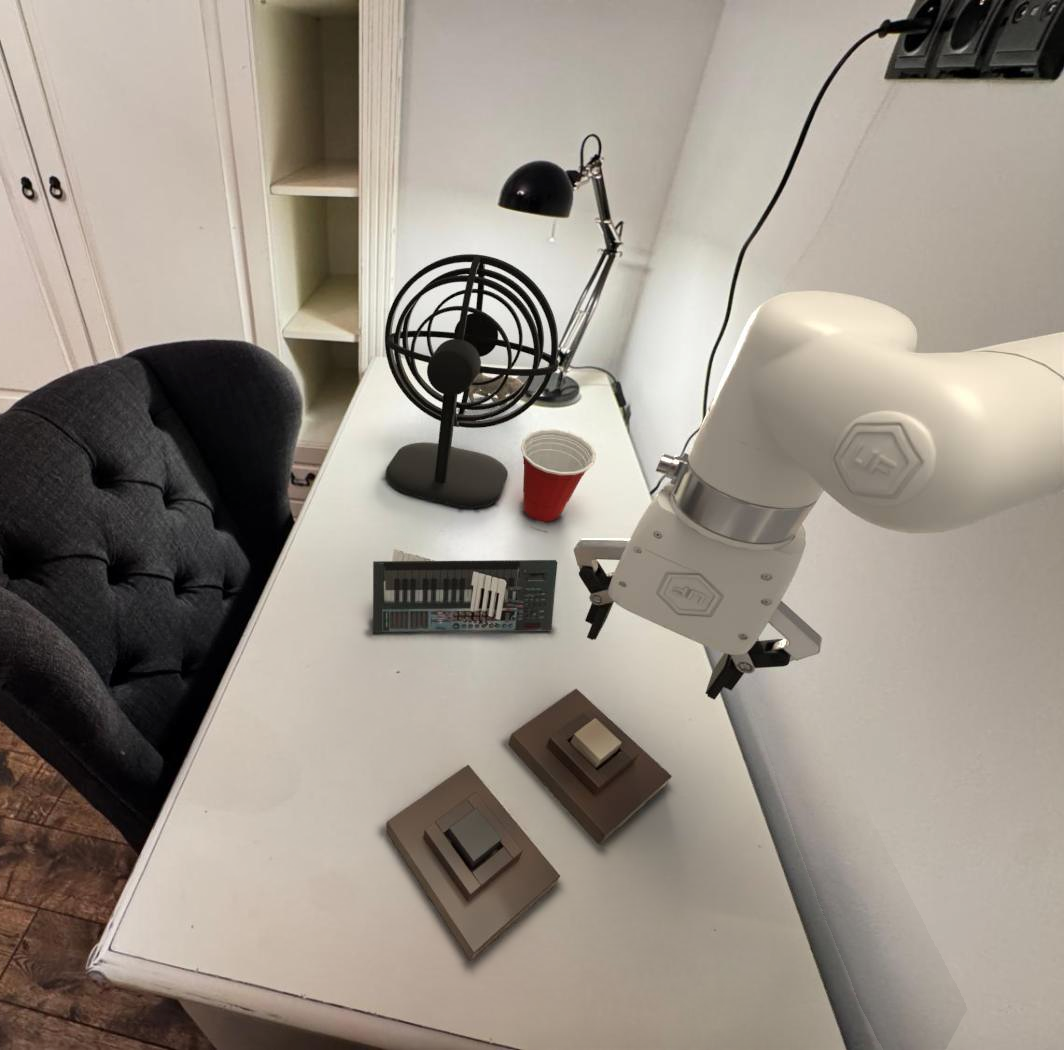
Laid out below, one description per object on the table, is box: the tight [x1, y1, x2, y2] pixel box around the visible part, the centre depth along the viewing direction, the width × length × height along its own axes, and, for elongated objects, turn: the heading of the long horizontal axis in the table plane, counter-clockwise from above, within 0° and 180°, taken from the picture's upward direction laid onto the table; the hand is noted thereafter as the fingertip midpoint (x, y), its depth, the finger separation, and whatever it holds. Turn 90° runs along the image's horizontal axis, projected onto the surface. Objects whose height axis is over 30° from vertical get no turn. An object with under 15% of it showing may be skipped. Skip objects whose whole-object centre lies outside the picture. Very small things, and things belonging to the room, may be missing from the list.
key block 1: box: [385, 764, 561, 961], centre depth 51 cm, size 12×10×4 cm
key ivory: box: [570, 718, 621, 768], centre depth 56 cm, size 3×3×2 cm
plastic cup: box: [520, 428, 597, 522], centre depth 87 cm, size 11×11×12 cm
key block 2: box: [508, 688, 673, 845], centre depth 58 cm, size 12×10×4 cm
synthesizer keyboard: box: [372, 548, 558, 633], centre depth 71 cm, size 22×10×10 cm
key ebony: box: [448, 808, 502, 869], centre depth 49 cm, size 3×3×2 cm
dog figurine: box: [468, 373, 527, 408], centre depth 117 cm, size 12×6×7 cm, turn 74°
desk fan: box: [384, 253, 560, 509], centre depth 88 cm, size 27×18×35 cm, turn 67°
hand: (652, 656), depth 48 cm, fingers open, 9 cm apart
